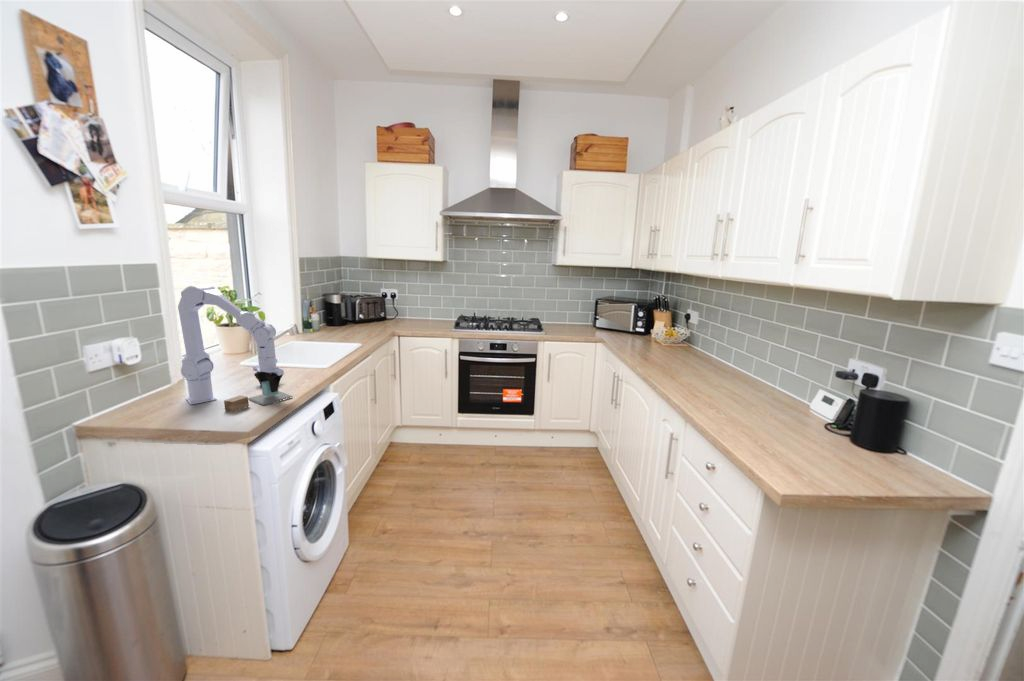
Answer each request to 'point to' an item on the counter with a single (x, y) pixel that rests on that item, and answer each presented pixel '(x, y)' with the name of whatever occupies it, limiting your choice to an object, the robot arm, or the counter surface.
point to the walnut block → (236, 403)
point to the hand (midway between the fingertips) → (270, 390)
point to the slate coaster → (269, 398)
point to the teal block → (267, 389)
